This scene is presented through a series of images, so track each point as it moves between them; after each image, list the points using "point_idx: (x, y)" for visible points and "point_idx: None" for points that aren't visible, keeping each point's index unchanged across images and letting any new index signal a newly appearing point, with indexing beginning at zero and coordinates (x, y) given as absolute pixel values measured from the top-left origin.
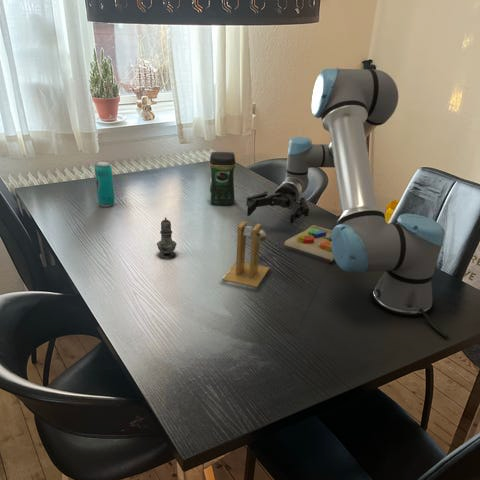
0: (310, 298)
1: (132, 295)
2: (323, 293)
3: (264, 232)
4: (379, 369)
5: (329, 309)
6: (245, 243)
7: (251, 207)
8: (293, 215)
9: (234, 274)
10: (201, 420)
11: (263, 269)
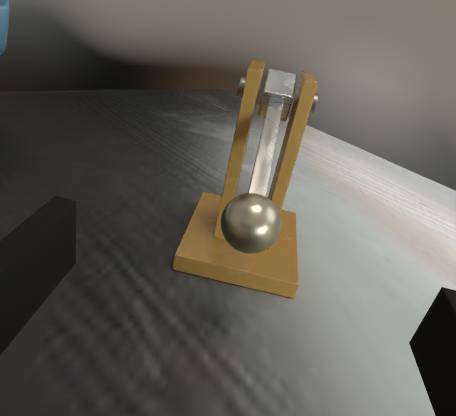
0: (60, 183)
1: (423, 201)
2: (10, 194)
3: (234, 198)
4: (7, 93)
5: (25, 159)
6: (281, 163)
7: (451, 332)
8: (54, 199)
9: None
10: (220, 97)
11: (195, 245)
